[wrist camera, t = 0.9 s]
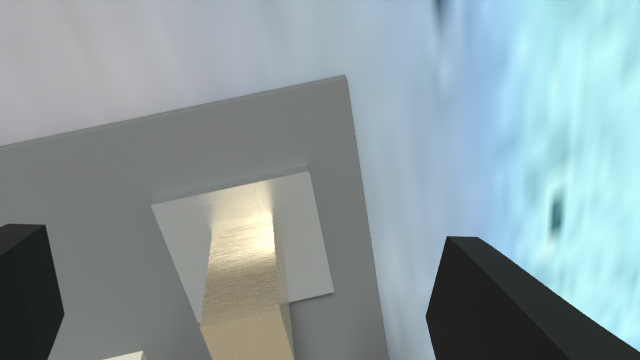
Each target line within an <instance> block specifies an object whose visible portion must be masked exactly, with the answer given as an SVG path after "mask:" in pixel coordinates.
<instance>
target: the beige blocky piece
mask: <svg viewBox="0 0 640 360" xmlns="http://www.w3.org/2000/svg"><path fill="white" fill-rule="evenodd" d="M151 207H152V210H153V212H154V215H155V217H156V220H157V222H158V225H159V227H160V230H161V232H162V235H163V237H164V240H165V242H166V245H167V247H168V250H169V252H170V255H171V257H172V260H173V262H174V265H175V267H176V270H177V272H178V274H179V277H180V279H181V282H182V284H183V287H184V289H185V292H186V294H187V297H188V299H189V302H190V304H191V307H192V309H193V312H194V314H195V317H196V319H197V322H198V323H200V330H201V332H202V335H203V337H204V340H205V342H206V345H207V347H208V350H209V352H210V355H211V357H212V360H295V357H294V348H293V338H292V329H291V319H290V310H289V302H293V301H298V300H302V299H306V298H311V297H315V296H320V295H324V294H329V293H333V292H334V288H333V284H332V279H331V274H330V269H329V264H328V259H327V254H326V250H325V245H324V240H323V235H322V230H321V225H320V220H319V216H318V211H317V206H316V201H315V196H314V191H313V187H312V182H311V177H310V172H309V168H308V164H307V165H302V166H297V167H293V168H288V169H283V170H279V171H274V172H269V173H265V174H260V175H255V176H251V177H246V178H241V179H237V180H232V181H227V182H223V183H218V184H214V185H209V186H204V187H200V188H195V189H190V190H186V191H181V192H176V193H172V194H167V195H162V196H158V197H154V198H153V200H152V203H151Z"/></svg>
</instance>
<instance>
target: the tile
mask: <svg viewBox="0 0 640 360" xmlns="http://www.w3.org/2000/svg"><path fill="white" fill-rule="evenodd" d="M104 360H147V358H146V356H145V354H144V352H143V351H139V352H135V353H131V354H126V355H122V356H117V357H113V358H109V359H104Z"/></svg>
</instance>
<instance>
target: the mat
mask: <svg viewBox="0 0 640 360" xmlns="http://www.w3.org/2000/svg"><path fill="white" fill-rule="evenodd" d="M307 164H308V168H309V172H310V177H311V182H312V187H313V191H314V196H315V201H316V206H317V211H318V216H319V220H320V225H321V230H322V235H323V240H324V245H325V250H326V254H327V259H328V264H329V269H330V274H331V279H332V284H333V288H334V292H333V293H329V294H324V295H320V296H315V297H311V298H306V299H302V300H298V301H293V302H289V310H290V319H291V329H292V338H293V348H294V357H295V360H389V359H388V353H387V346H386V339H385V332H384V326H383V319H382V312H381V305H380V299H379V292H378V285H377V278H376V271H375V265H374V258H373V251H372V244H371V238H370V231H369V224H368V217H367V211H366V204H365V197H364V190H363V184H362V177H361V170H360V163H359V156H358V150H357V143H356V136H355V129H354V123H353V116H352V109H351V102H350V96H349V89H348V82H347V78H346V76H345V75H341V76H337V77H332V78H327V79H322V80H317V81H313V82H308V83H303V84H298V85H293V86H289V87H284V88H279V89H274V90H269V91H265V92H260V93H255V94H250V95H245V96H241V97H236V98H231V99H226V100H221V101H217V102H212V103H207V104H202V105H197V106H193V107H188V108H183V109H178V110H173V111H169V112H164V113H159V114H154V115H149V116H145V117H140V118H135V119H130V120H125V121H121V122H116V123H111V124H106V125H101V126H97V127H92V128H87V129H82V130H77V131H73V132H68V133H63V134H58V135H53V136H49V137H44V138H39V139H34V140H29V141H25V142H20V143H15V144H10V145H5V146H0V227H1V226H4V225H6V224H41V225H46V229H47V234H48V238H49V243H50V248H51V252H52V257H53V262H54V266H55V271H56V276H57V280H58V285H59V290H60V294H61V299H62V304H63V308H64V313H65V315H64V317H63V320H62V323H61V326H60V328H59V331H58V334H57V337H56V339H55V342H54V345H53V347H52V350H51V352H50V355H49V357H48V360H104V359H109V358H113V357H117V356H122V355H126V354H131V353H135V352H139V351H143V352H144V354H145V356H146V358H147V360H212V357H211V355H210V352H209V350H208V347H207V345H206V342H205V340H204V337H203V335H202V332H201V330H200V323H198V322H197V319H196V317H195V314H194V312H193V309H192V307H191V304H190V302H189V299H188V297H187V294H186V292H185V289H184V287H183V284H182V282H181V279H180V277H179V274H178V272H177V270H176V267H175V265H174V262H173V260H172V257H171V255H170V252H169V250H168V247H167V245H166V242H165V240H164V237H163V235H162V232H161V230H160V227H159V225H158V222H157V220H156V217H155V215H154V212H153V210H152V207H151V203H152V200H153V198H154V197H158V196H162V195H167V194H172V193H176V192H181V191H186V190H190V189H195V188H200V187H204V186H209V185H214V184H218V183H223V182H227V181H232V180H237V179H241V178H246V177H251V176H255V175H260V174H265V173H269V172H274V171H279V170H283V169H288V168H293V167H297V166H302V165H307Z"/></svg>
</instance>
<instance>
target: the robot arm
mask: <svg viewBox="0 0 640 360" xmlns="http://www.w3.org/2000/svg"><path fill="white" fill-rule="evenodd" d="M64 315H65V313H64V308H63V304H62V299H61V294H60V290H59V285H58V280H57V276H56V271H55V266H54V262H53V257H52V252H51V248H50V243H49V238H48V234H47V229H46V225H41V224H6V225H4V226H1V227H0V360H48V357H49V355H50V352H51V350H52V347H53V345H54V342H55V339H56V337H57V334H58V331H59V328H60V326H61V323H62V320H63V317H64ZM426 321H427V325H428V329H429V334H430V338H431V342H432V346H433V350H434V354H435V357H436V360H640V352H639V351H637V350H636V349H634V348H633V347H631V346H630V345H628V344H627V343H625V342H624V341H622V340H621V339H620V338H618V337H617V336H615V335H614V334H612V333H611V332H609V331H608V330H606V329H605V328H603V327H602V326H600V325H599V324H597V323H596V322H595V321H593V320H592V319H590V318H589V317H587V316H586V315H585V314H583V313H582V312H580V311H579V310H578V309H576V308H575V307H574V306H572V305H571V304H569V303H568V302H567V301H565V300H564V299H563V298H561V297H560V296H558V295H557V294H556V293H554V292H553V291H552V290H550V289H549V288H548V287H546V286H545V285H544V284H542V283H541V282H540V281H538V280H537V279H536V278H534V277H533V276H531V275H530V274H529V273H527V272H526V271H525V270H523V269H522V268H521V267H519V266H518V265H517V264H515V263H514V262H513V261H511V260H510V259H509V258H507V257H506V256H505V255H503V254H502V253H500V252H499V251H498V250H496V249H495V248H493V247H492V246H491V245H489V244H488V243H486V242H484V241H483V240H481V239H480V238H478V237H457V236H447V238H446V241H445V245H444V249H443V253H442V257H441V260H440V264H439V268H438V272H437V275H436V279H435V283H434V287H433V291H432V294H431V298H430V302H429V306H428V309H427V313H426Z"/></svg>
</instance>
